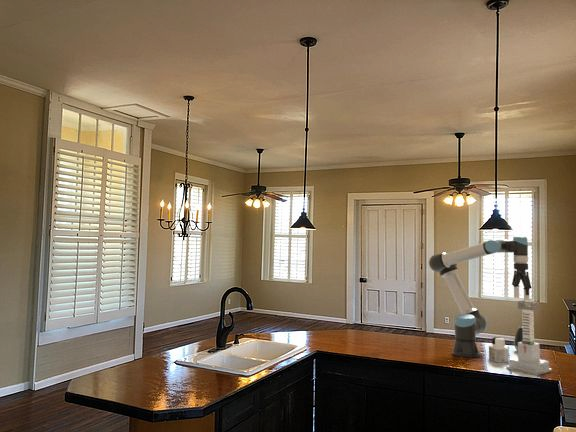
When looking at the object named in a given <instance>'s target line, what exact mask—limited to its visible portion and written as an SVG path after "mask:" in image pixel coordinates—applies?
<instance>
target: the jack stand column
mask: <svg viewBox="0 0 576 432" xmlns="http://www.w3.org/2000/svg"><path fill="white" fill-rule="evenodd" d="M538 303H539V302H537V301H534V302H530V305H526V301H524V300H518V301H517V309H518V310H522V313H521V318H522V323H521V324H522V327H523V340H522V341H526V342H529V344H530V345H532V344H534V343H536V340H535V320H534V319H535V317H534V313H535V312H534V311H538V310H539V307H538V306H539V304H538Z"/></svg>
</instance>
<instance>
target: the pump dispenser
mask: <svg viewBox="0 0 576 432" xmlns="http://www.w3.org/2000/svg"><path fill="white" fill-rule="evenodd" d="M515 332H516V333H515V336H514V339H513V346H514V348H515V350H516V351H517V352H518V342H522V340H523V326H518V328H517V330H516V331H515Z"/></svg>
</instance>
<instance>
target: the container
mask: <svg viewBox="0 0 576 432" xmlns="http://www.w3.org/2000/svg"><path fill="white" fill-rule="evenodd" d="M505 340H506V339H505V338H503V337H501V336H500V337H499V336H494V337H491V341H492V342H491V343H492V344H491V345H488V360H491V361H492V362H494V363H509V359H510V358H509V356H510V355H509V354H510V353H509V348H508V347H506V346H505V345H506V343H505V342H506V341H505Z"/></svg>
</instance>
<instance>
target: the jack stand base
mask: <svg viewBox="0 0 576 432" xmlns="http://www.w3.org/2000/svg"><path fill="white" fill-rule="evenodd" d="M540 352H541V351H540V342H539V343H538V342H534V344H532V345H530V344H529V342H526V341H522V342H518V351H517V357H513V358H509V362H508V365H506V367H505V368H506V369H507V370H512V371H515V372H519V373H525V374H528V375H532V376H540V375H544V374H547V373H550V372H552V371H553V368H551V367H550V361H549V360H546V359H541V358H540V357H541V355H540V354H541V353H540Z"/></svg>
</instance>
